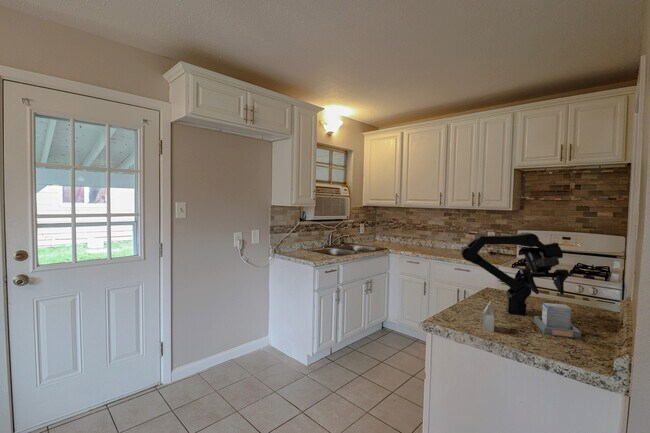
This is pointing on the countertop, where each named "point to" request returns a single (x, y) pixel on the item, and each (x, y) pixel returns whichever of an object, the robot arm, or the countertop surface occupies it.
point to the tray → (557, 330)
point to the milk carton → (489, 318)
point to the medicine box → (556, 316)
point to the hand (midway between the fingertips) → (550, 294)
